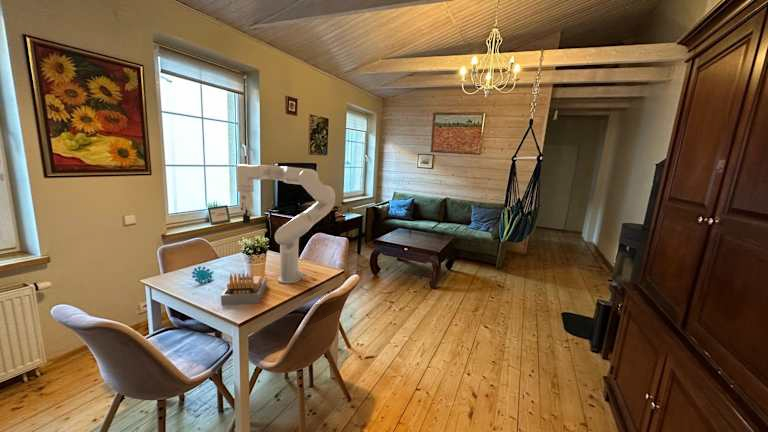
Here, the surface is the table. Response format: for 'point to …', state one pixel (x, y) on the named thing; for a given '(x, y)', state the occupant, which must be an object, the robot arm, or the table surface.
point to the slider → (255, 278)
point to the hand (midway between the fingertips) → (246, 222)
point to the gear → (202, 274)
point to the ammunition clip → (241, 284)
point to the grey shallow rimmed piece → (243, 296)
